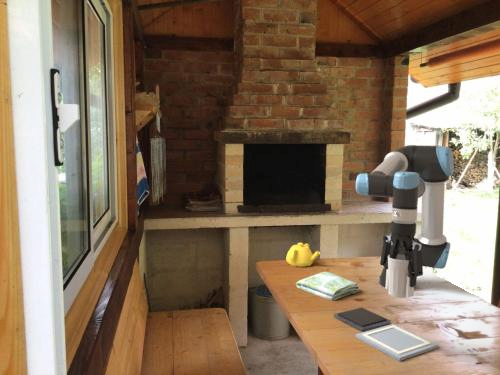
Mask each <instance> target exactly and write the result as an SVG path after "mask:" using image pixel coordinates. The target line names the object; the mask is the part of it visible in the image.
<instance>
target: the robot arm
mask: <svg viewBox="0 0 500 375" xmlns="http://www.w3.org/2000/svg"><path fill="white" fill-rule="evenodd" d="M454 167H455V166H454V156H453V151H452V149H451V148H450V147H449V146H442V145H420V144H419V145H415V144H409V145H408V144H407V145H404V146H401V147H398V148H396V149H394V150H393V149H392V150H391V151H390V152H389V153H387V154H386V155H385V156H384V159H383V161H382V162H381V163H380V164H379V165H378V166H376V168H375V169H373V170H372V171H371V172H370V173H367V172H366V173H359V174H358V175H357V176H356V180H355V191H356V193H357V194H358V195H360V196H366V197H381V198H392V203H391V222H390V233H391V234H389V235H384V236H383V237H382V240H383V241H382V242H383V245H382V251H381V256H380V260H379V261H380V263H379V264H380V266H383V268H382V270H381V273H380V276H379V279H378V283H379V285H381V286H382V287H384V288H385V290H389V281H388V255H390V258H392V259H396V257H397V254H402V255H405V259H406V261H409V263H408V271H409V276H407V284H406V298H410V297H411V298H412V297H413V296H415V295H414V293H415V292H414V291H415V287H417V278H418V277H421V276H423V275H424V267H426V268H432V269H441V270H442V269H444V268H446V265H447V264H448V263H447V262H448V259H449V254H450V250H451V243H450V242H448V241H447V237H446V236H445V235H444V217H445V216H444V214H445V213H444V212H445V211H444V210H445V185H446V184H445V183H447V182H448V181H450V180H449V179H450V177H451V176H453V175H454V170H455V168H454ZM419 198H421V220H420V221H421V228H420V233H419V234H418V235H417V237H415V236H416V234H417V223H416V222H417V221H418V202H419ZM411 260H412V261H411Z"/></svg>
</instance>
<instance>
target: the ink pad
mask: <svg viewBox="0 0 500 375" xmlns="http://www.w3.org/2000/svg"><path fill="white" fill-rule="evenodd" d="M333 318H335V319H336V320H339V321H340V322H342V323H344V324H346V325H348V326H350V327H352V328H354V329H356V330H358V331H359V332H360V333H362V332H366V331H369V330H373V329H376V328H380V327H383V326H387V325H391V324H392V323H391V321H392V320H390V319H388V318H386V317H384V316H381V315H380V314H377V313H375V312H373V311H371V310H368V309H366V308H364V307H358V308H354V309H350V310H345V311H340V312H337V313H333Z"/></svg>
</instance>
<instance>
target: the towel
mask: <svg viewBox="0 0 500 375" xmlns="http://www.w3.org/2000/svg"><path fill="white" fill-rule="evenodd" d="M295 286H296V287H297V289H300V290H303V291H305V292H307V293H309V294H312V295H315V296H318V297H320V298H323V299H326V300H328V301H336V300H338V299H340V298H344V297H347V296H348V295H351V294H356V293H357V292H358V291H359V289H360V286H358V283H357V282H355V281H352V280H349V279H346V278H344V277H342V276H340V275H337V274H335V273H332V272H329V271H322V272H321V271H320V272H318V273H316V274H314V275H310V276H308V277H306V278H305V277H304V278H303V279H300V280H298V281H297V282H296V283H295Z"/></svg>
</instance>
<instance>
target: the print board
mask: <svg viewBox="0 0 500 375" xmlns="http://www.w3.org/2000/svg"><path fill="white" fill-rule="evenodd" d="M354 336H355V338H356V339H358V340H359V341H362V342H363V343H366V344H367V345H369V346H371V347H372V348H374V349H377V350H378V351H380V352H381V353H384V354H385V355H387V356H389V357H391V358H393V359H394V360H397V361H398V362H401V361H403V360H407V359H409V358H412V357H416V356H418V355H421V354H423V353H424V354H425V353H427V352H429V351H433V350H436V349H438V348H439V344H438V343H436V342H433V341H431V340H430V339H428V338H425V337H423V336H421V335H418V334H416V333H415V332H412V331H410V330H407V329H405V328H403V327H402V326H399V325H397V324H394V323H391V324H388V325H385V326H381V327H377V328H374V329H370V330H367V331H363V332H359V333H355V335H354Z"/></svg>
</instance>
